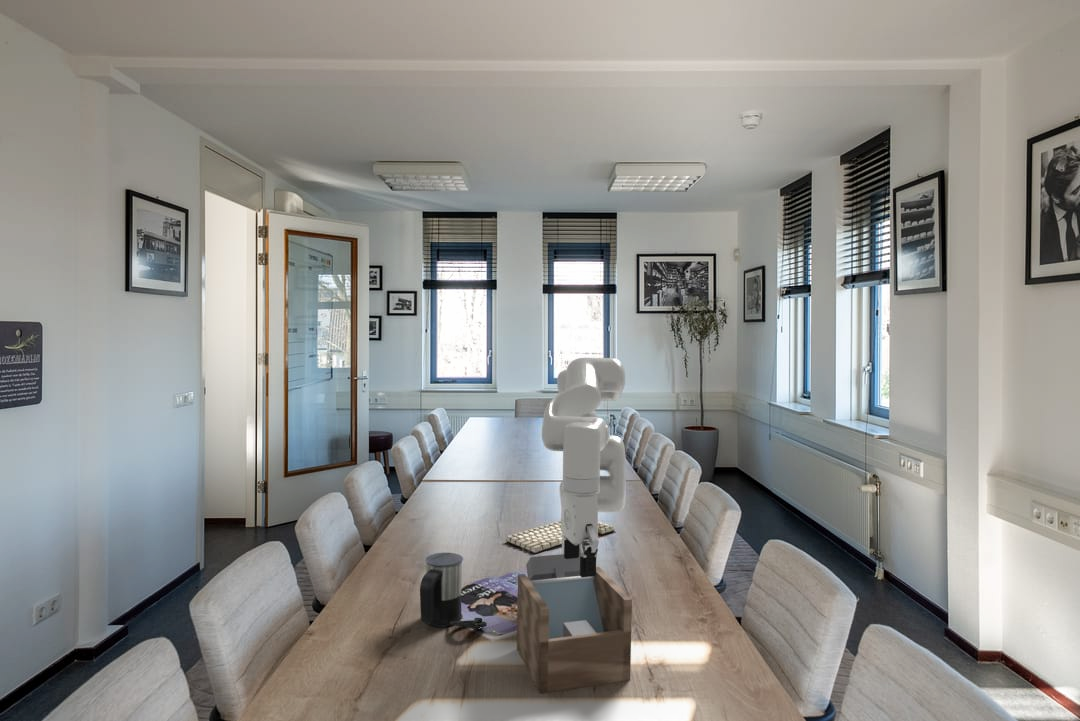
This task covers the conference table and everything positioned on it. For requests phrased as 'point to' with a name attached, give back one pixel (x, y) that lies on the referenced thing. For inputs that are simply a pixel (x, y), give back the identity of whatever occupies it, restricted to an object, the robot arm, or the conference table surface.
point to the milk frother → (444, 592)
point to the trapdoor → (564, 592)
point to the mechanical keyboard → (547, 537)
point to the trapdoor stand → (575, 640)
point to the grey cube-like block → (577, 628)
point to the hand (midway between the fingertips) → (579, 566)
